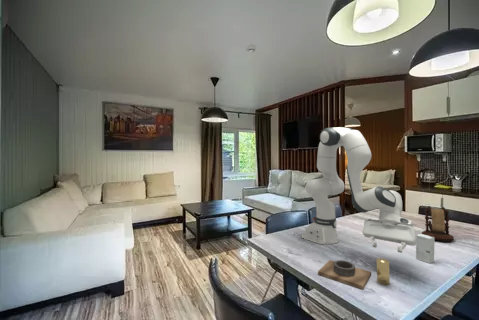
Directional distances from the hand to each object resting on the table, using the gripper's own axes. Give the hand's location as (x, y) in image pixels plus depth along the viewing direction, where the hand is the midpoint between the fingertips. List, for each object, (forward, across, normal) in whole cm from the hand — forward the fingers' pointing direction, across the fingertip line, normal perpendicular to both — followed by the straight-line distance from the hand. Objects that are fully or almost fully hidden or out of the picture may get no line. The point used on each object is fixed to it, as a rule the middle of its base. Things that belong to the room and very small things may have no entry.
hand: (386, 249), depth 97 cm
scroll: (-41, +16, +57) cm, 72 cm away
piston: (+13, 0, +3) cm, 14 cm away
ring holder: (+16, -14, 0) cm, 21 cm away
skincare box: (-12, +12, +28) cm, 32 cm away
